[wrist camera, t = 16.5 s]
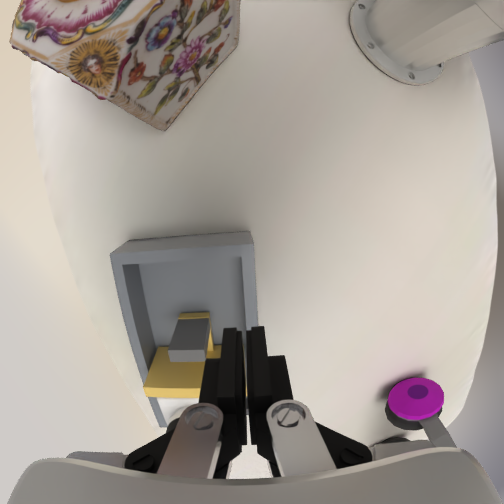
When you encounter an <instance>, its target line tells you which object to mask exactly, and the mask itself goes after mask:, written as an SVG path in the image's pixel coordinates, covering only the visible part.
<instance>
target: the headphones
mask: <svg viewBox="0 0 504 504" xmlns="http://www.w3.org/2000/svg"><path fill="white" fill-rule="evenodd" d="M443 403H444V392H443V390H442V389H441V387H440V385H438V384H437V383H435V382H434V381H432V380H429V379H426V378H410V379H406V380H403V381H401V382H399V383H398V384H396V385H395V386H394V387H393V389H392V390H391V391H390V393H389V396H388V400H387V404H386V408H385V412H386V415H387V419H388V420H389V421H390V422H391V423H392V424H393V425H394V426H396V427H399V428H401V429H404V430H419V429H423V428H424V430H425V432H426V434H427V436H428V438H429V440H430V441H431V442H432V443H434V444H435V445H436V447H454V448H457V447H456V445H455V443H454V441H453V440H452V438H451V436H450V434H449V433H448V431H447V430H446V428H445V427H444V425H443V424H442V422H441V421H440V419H439V418H438V417H439V415H440V414H441V412H442V405H443ZM407 441H410V440H408V439H406V438H398V437H396V438H391V439H388V440H386V441H384V442H382V443H381V444H387V443H398V442H407Z"/></svg>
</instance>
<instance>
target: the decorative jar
mask: <svg viewBox="0 0 504 504" xmlns="http://www.w3.org/2000/svg"><path fill="white" fill-rule="evenodd" d="M239 25H240V0H21V3H20V5H19V7H18V10H17V12H16V14H15V19H14V21H13V25H12V33H11V38H10V43H11V44H12V48H13V49H16V50H20V51H21V52H22V53H23V54H24V55H26V56H28V57H30V59H31V60H34V61H39V62H41V63H42V64H44V65H46V66H48V67H49V68H51V69H53V70H55V71H56V72H57V73H62V74H63V75H65V76H68V77H70V79H71V81H72V82H74V83H76V84H78V85H80V86H82V87H84V88H86V89H87V90H89V91H91V92H92V93H93V94H94V95H95V96H96V97H97V98H98V99H100V100H105V99H107V100H108V101H110V102H112V103H114V104H116V105H117V106H119V107H121V108H123V109H124V110H125V111H127V112H128V113H130V114H132V115H134V116H135V117H137V118H139V119H141V120H142V121H144V122H146V123H148V124H150V125H151V126H153V127H155V128H157V129H159V130H163V131H165V130H167V128H168V127H169V126H170V124H171V123H172V122H173V121H174V119H175V118H176V117H177V115H178V114H179V113H180V112H181V111H182V109H183V108H184V107H185V106H186V104H187V103H188V102H189V101H190V99H191V98H192V97H193V96H194V94H195V93H196V92H197V91H198V89H199V88H200V87H201V86H202V84H203V83H204V82H205V81H206V80H207V79H208V77H209V76H210V75H211V74H212V73H213V72H214V70H215V69H216V68H217V67H218V66H219V65H220V64H221V63H222V62H223V61H224V60H225V58H226V57H227V56H228V55H229V54H230V53H231V52H232V51H233V50H234V49H235V48H236V46H237V44H238V40H239Z"/></svg>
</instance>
